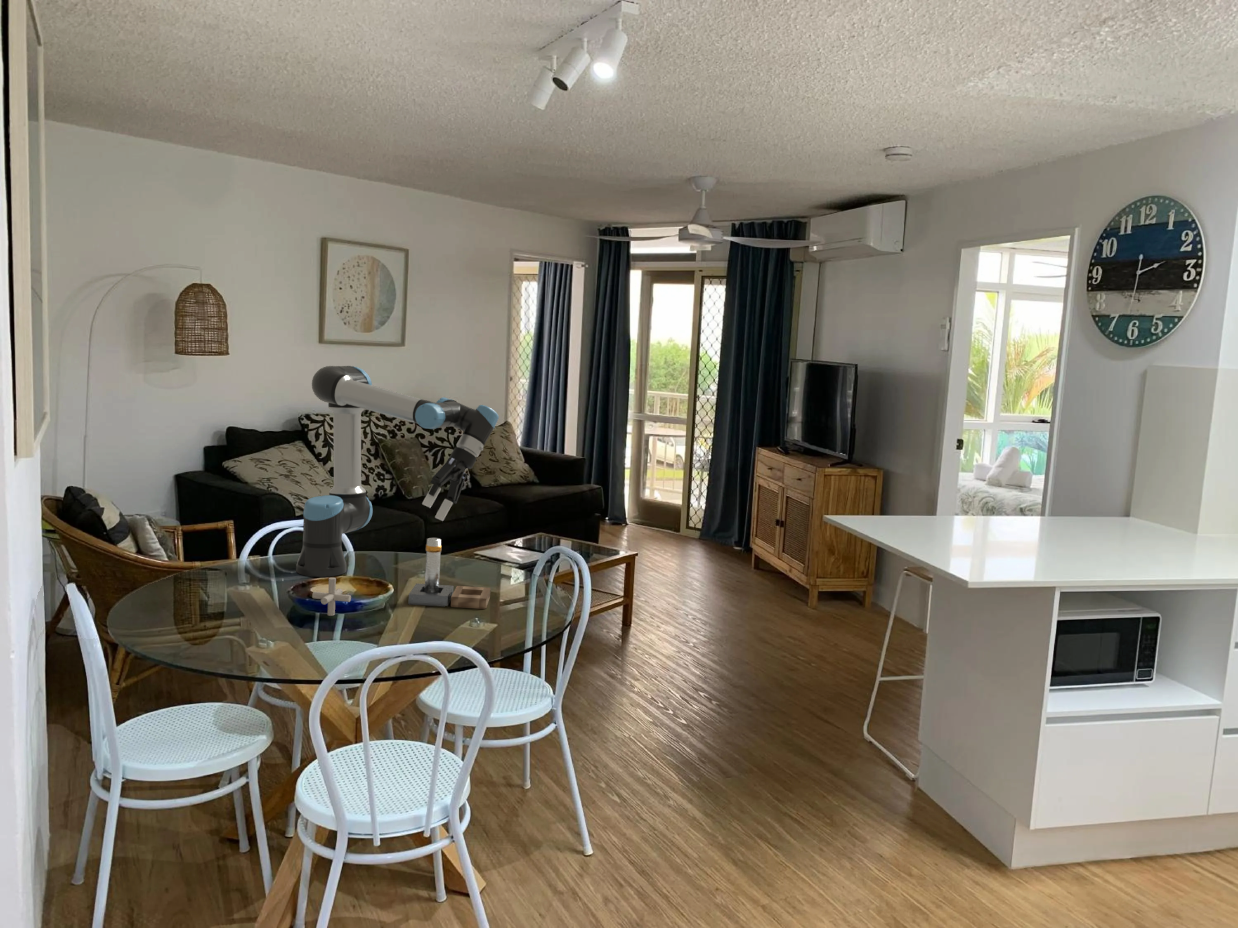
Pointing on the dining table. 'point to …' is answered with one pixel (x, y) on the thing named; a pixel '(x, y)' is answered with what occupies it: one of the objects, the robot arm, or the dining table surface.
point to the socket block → (430, 596)
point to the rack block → (470, 597)
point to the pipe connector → (331, 596)
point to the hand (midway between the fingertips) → (432, 512)
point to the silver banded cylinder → (432, 565)
